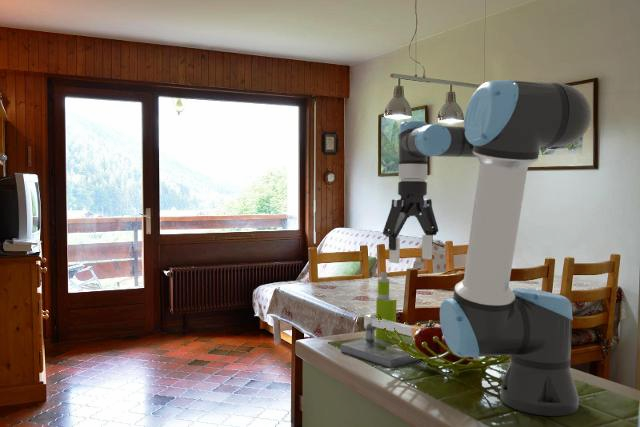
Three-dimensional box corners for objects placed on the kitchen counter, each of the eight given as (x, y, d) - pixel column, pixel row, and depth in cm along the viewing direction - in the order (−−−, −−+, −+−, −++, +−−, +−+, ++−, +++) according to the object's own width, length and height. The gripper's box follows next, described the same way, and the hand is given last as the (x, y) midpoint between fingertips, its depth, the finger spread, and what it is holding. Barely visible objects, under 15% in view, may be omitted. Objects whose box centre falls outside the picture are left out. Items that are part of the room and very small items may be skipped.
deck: (422, 359, 151) (422, 339, 151) (390, 367, 144) (390, 346, 143) (372, 344, 165) (372, 325, 165) (340, 351, 157) (340, 332, 157)
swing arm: (425, 340, 149) (425, 326, 149) (416, 342, 147) (417, 328, 147) (370, 325, 164) (370, 313, 163) (361, 327, 162) (362, 314, 161)
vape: (380, 339, 171) (382, 270, 170) (397, 342, 167) (399, 273, 166) (373, 341, 168) (374, 272, 167) (390, 345, 164) (391, 274, 163)
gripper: (430, 181, 166) (428, 256, 167) (369, 179, 149) (368, 262, 150) (452, 181, 161) (450, 258, 161) (392, 179, 144) (391, 265, 145)
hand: (411, 260), depth 156 cm, fingers open, 13 cm apart
